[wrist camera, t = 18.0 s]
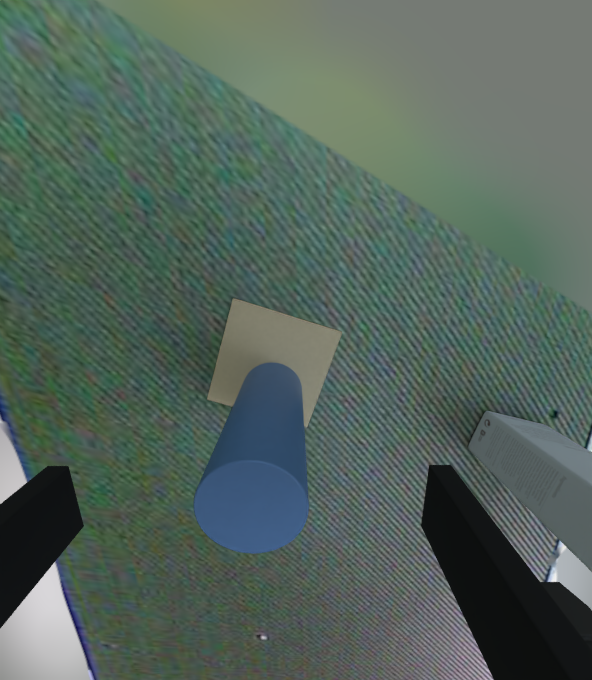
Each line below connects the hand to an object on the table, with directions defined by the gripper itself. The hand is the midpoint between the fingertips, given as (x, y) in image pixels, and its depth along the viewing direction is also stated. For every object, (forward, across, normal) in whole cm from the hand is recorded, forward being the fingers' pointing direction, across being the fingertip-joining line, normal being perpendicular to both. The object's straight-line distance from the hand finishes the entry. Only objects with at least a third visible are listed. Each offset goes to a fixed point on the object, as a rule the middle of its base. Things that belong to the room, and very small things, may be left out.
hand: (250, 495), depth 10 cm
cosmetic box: (+14, +21, -7) cm, 26 cm away
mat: (+14, 0, 0) cm, 14 cm away
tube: (+7, -2, 0) cm, 8 cm away
